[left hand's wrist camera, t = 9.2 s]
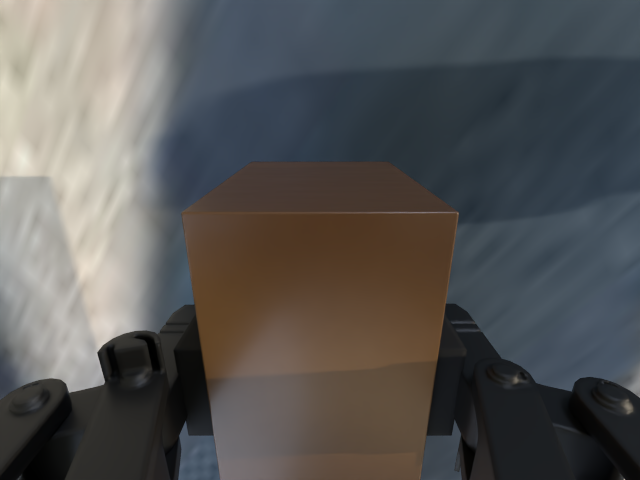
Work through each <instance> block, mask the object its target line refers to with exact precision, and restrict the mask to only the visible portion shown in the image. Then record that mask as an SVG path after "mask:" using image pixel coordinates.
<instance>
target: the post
mask: <svg viewBox="0 0 640 480" xmlns="http://www.w3.org/2000/svg"><path fill="white" fill-rule="evenodd" d="M181 215H182V222H183V229H184V235H185V242H186V249H187V256H188V263H189V270H190V276H191V283H192V290H193V297H194V304H195V311H196V317H197V324H198V331H199V338H200V345H201V352H202V359H203V365H204V372H205V379H206V386H207V393H208V400H209V406H210V413H211V420H212V427H213V434H214V441H215V447H216V454H217V461H218V468H219V475H220V480H420V476H421V470H422V463H423V456H424V449H425V442H426V435H427V428H428V421H429V415H430V408H431V401H432V394H433V387H434V380H435V373H436V367H437V360H438V353H439V346H440V339H441V332H442V325H443V319H444V312H445V305H446V298H447V291H448V284H449V277H450V271H451V264H452V257H453V250H454V243H455V236H456V229H457V223H458V216H459V213H458V212H457V211H456V210H455V209H453V208H452V207H450V206H449V205H448V204H446V203H445V202H444V201H442V200H441V199H439V198H438V197H437V196H435V195H434V194H432V193H431V192H430V191H428V190H427V189H426V188H424V187H423V186H421V185H420V184H419V183H417V182H416V181H414V180H413V179H412V178H410V177H409V176H408V175H406V174H405V173H403V172H402V171H401V170H399V169H398V168H396V167H395V166H394V165H392V164H391V163H390V162H251V163H249V164H248V165H246V166H245V167H244V168H242V169H241V170H240V171H238V172H237V173H235V174H234V175H233V176H231V177H230V178H228V179H227V180H226V181H224V182H223V183H222V184H220V185H219V186H217V187H216V188H215V189H213V190H212V191H210V192H209V193H208V194H206V195H205V196H204V197H202V198H201V199H199V200H198V201H197V202H195V203H194V204H193V205H191V206H190V207H188V208H187V209H186V210H184V211H183V212H182V214H181Z"/></svg>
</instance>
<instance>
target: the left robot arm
mask: <svg viewBox="0 0 640 480" xmlns="http://www.w3.org/2000/svg"><path fill="white" fill-rule="evenodd" d="M97 353H98V357H99V361H100V364H101V368H102V372H103V375H104V379H105V384H104V385H101V386H98V387H94V388H89V389H85V390H80V391H76V392H71V393H69V392H68V389H67V386H66V384H65V383H64V382H63V381H62V380H59V379H52V378H51V379H44V380H38V381H35V382H32V383H29V384H26V385H24V386H22V387H20V388H18V389H16V390H14V391H12V392H11V393H9V394H8V395H7V396H5V397H4V398H3V399H1V400H0V480H178V476H179V467H180V457H181V444H180V438H179V435H180V432H181V430H182V428H183V425H184V423H185V421H186V423H187V429H188V434H189V435H214V434H213V427H212V420H211V413H210V406H209V400H208V393H207V386H206V379H205V372H204V365H203V359H202V352H201V345H200V338H199V331H198V324H197V317H196V311H195V305H184V306H183V307H181V308H180V309H179V310H177V311H176V312H174V313H173V314H172V315H171V317H170V318H169V320H168V321H167V322H166V325H164V326H163V328H162V329H161V330H160V333H158V335H157V334H156V333H155V332H150V331H134V332H130V333H126V334H123V335H120V336H118V337H116V338H113V339H112V340H110V341H109V342H107V343H106V344H104V345H103V346H102V347H101V349H100V350H99V351H98V352H97ZM454 419H455V421H456V423H457V425H458V428H459V430H460V432H461V438H460V443H459V448H458V454H457V459H456V464H455V471H458V472H459V470H460V466H461V475H462V480H623V479H625V480H640V398H639V397H638V396H636V395H635V394H634V393H632V392H631V391H630V390H628V389H626V388H624V387H622V386H620V385H618V384H616V383H613V382H611V381H608V380H604V379H600V378H593V377H586V378H580V379H579V380H577V381H576V382H575V383H574V386H573V390H572V392H571V391H566V390H562V389H557V388H553V387H548V386H544V385H541V384H537V383H535V381H534V379H533V378H532V376H531V375H530V374H529V373H528V372H527V371H526V370H524V369H523V368H522V367H521V366H519V365H517V364H515V363H513V362H511V361H508V360H504V359H501V357H500V356H499V354H498V353H497V352H496V350H495V349H494V348H493V346H492V345H491V344H490V342H489V341H488V340H487V338H486V337H485V335H484V334H483V333H482V332H481V331H480V329H479V327H478V326H477V325H476V324H475V322H474V320H473V319H472V318H471V316H470V315H469V314H468V312H466V311H465V310H463V309H462V308H461V307H459V306H458V305H456V304H446V305H445V312H444V319H443V325H442V332H441V339H440V346H439V353H438V360H437V367H436V373H435V380H434V387H433V394H432V401H431V408H430V415H429V421H428V428H427V435H452V430H453V425H454Z"/></svg>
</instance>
